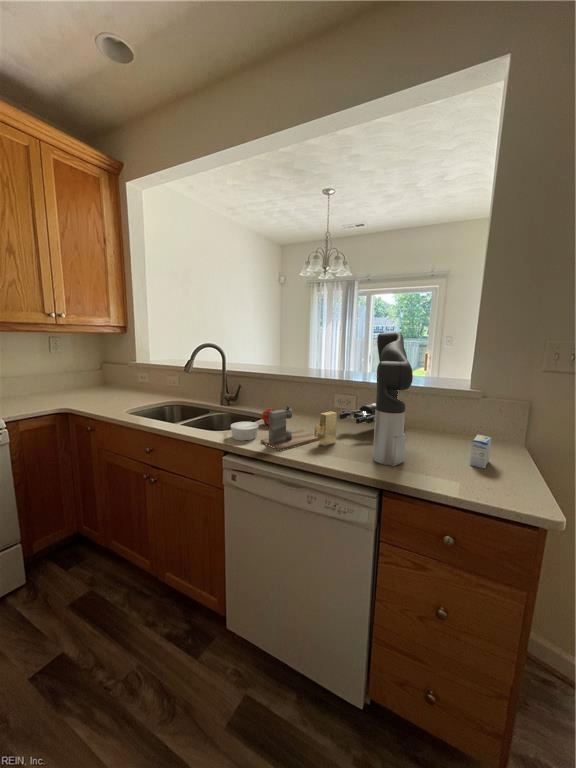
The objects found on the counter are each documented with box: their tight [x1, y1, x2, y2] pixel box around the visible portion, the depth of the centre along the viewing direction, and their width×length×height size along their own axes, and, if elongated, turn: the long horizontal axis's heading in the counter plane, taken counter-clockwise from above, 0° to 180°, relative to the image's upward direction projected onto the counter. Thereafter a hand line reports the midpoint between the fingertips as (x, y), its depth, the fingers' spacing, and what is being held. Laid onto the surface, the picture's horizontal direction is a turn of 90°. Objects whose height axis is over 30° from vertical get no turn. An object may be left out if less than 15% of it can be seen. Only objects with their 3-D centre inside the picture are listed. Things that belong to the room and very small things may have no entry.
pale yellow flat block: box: [313, 411, 338, 447], centre depth 121 cm, size 3×10×12 cm, turn 131°
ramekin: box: [230, 421, 259, 441], centre depth 128 cm, size 11×11×5 cm
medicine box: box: [469, 434, 493, 469], centre depth 105 cm, size 8×4×9 cm, turn 141°
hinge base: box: [260, 405, 320, 451], centre depth 124 cm, size 12×22×14 cm, turn 131°
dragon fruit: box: [260, 407, 276, 426], centre depth 146 cm, size 8×8×12 cm
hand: (348, 418), depth 130 cm, fingers open, 8 cm apart
